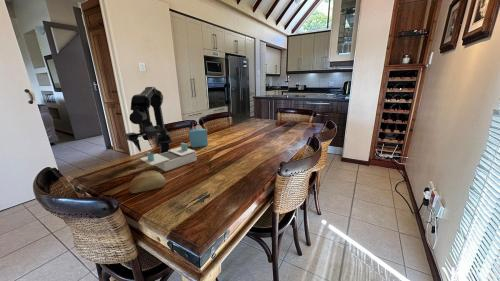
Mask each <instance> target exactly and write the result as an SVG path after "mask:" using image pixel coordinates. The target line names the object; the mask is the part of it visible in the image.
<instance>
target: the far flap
mask: <svg viewBox="0 0 500 281" xmlns="http://www.w3.org/2000/svg"><path fill="white" fill-rule="evenodd" d="M168 151H169V152H172V153H174V154H177V155H179V156H184V155H187V154H190V153H193V152H196V150H194V149H191V148H188V143H185V142H180V146H179V147H175V148H172V149H170V150H168ZM196 153H197V152H196Z"/></svg>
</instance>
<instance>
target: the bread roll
mask: <svg viewBox="0 0 500 281" xmlns="http://www.w3.org/2000/svg"><path fill="white" fill-rule="evenodd" d="M166 184H167V179H166V178H165V177H164V176H163V174H162V172H159V171H156V170H144V171H142V172H140V173H138V174H136V175H134V177H133V178H132V180H131V181H130V184H129V186H128V191H129V193H131V194H138V193H141V192H146V191H151V190H156V189H157V190H158V189H160V188H164V186H165V185H166Z"/></svg>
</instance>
